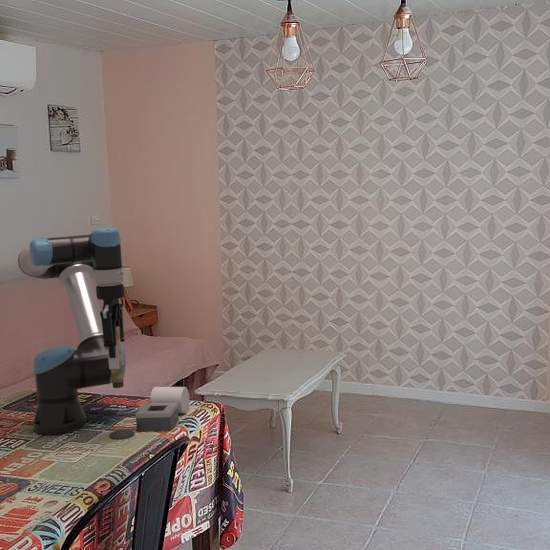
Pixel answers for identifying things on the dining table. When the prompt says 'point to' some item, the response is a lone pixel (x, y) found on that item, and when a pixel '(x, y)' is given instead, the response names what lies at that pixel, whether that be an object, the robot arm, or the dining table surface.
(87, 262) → the robot arm
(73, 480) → the dining table surface
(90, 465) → the dining table surface
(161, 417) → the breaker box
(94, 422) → the dining table surface
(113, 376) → the brown upright bar
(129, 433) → the coaster
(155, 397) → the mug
